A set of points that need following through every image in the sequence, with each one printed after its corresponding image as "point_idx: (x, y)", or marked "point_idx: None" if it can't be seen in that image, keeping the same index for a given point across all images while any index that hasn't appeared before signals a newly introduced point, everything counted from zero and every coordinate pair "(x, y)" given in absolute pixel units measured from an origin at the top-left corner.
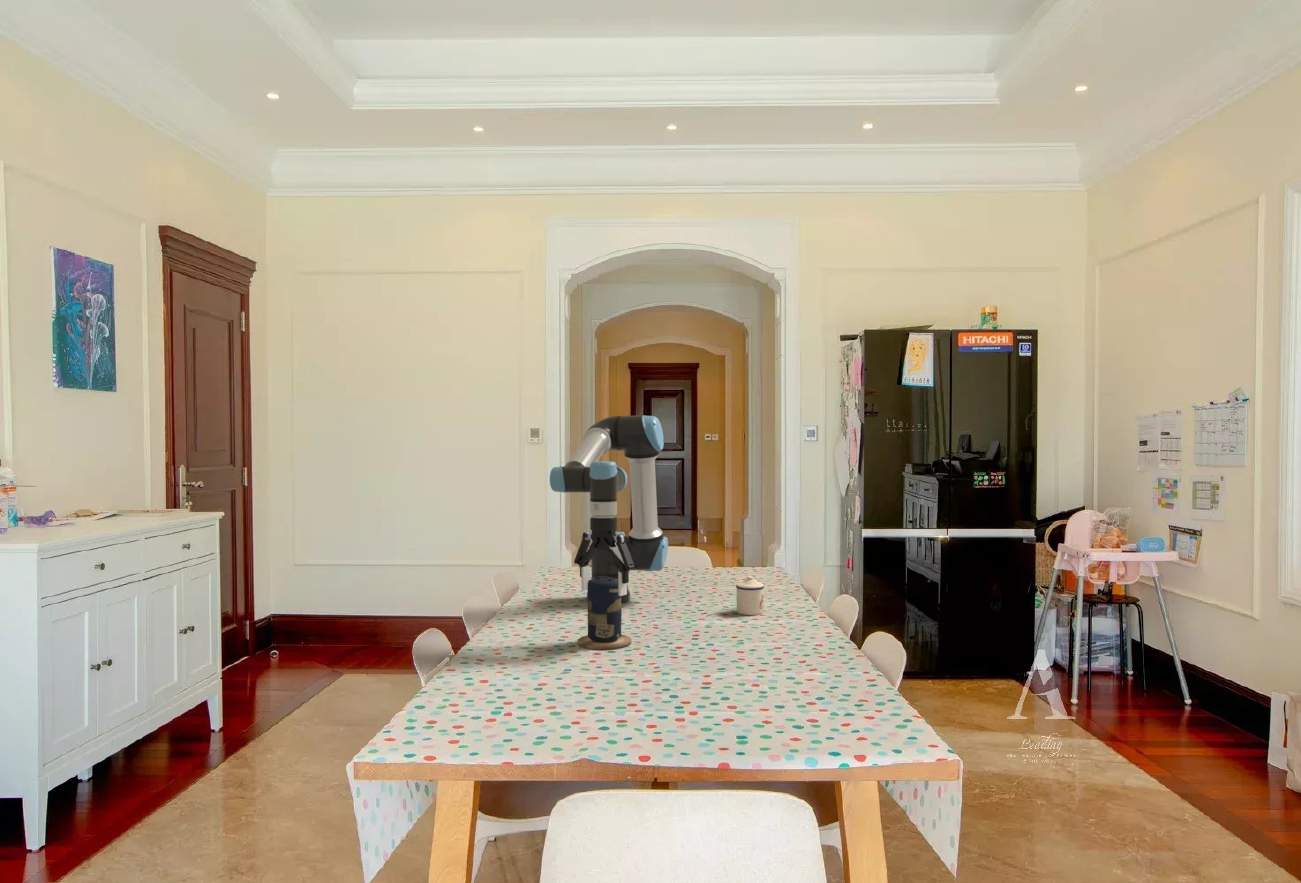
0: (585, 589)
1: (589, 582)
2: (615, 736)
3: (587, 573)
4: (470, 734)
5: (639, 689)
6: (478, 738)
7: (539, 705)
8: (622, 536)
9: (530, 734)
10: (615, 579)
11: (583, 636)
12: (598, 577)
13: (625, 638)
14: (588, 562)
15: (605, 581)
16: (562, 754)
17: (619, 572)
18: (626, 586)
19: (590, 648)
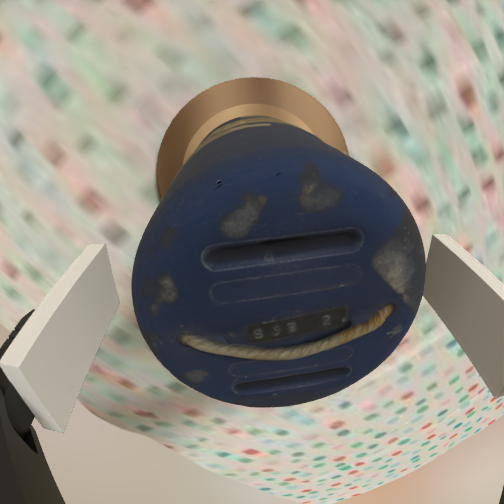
0: (115, 289)
1: (226, 401)
2: (469, 424)
3: (62, 346)
4: (356, 482)
5: None
6: (367, 480)
7: (377, 445)
8: None
9: (403, 461)
10: (381, 258)
11: (159, 188)
12: (224, 351)
13: (305, 115)
14: (1, 411)
15: (344, 361)
16: (439, 454)
17: (500, 393)
18: (474, 263)
19: None
